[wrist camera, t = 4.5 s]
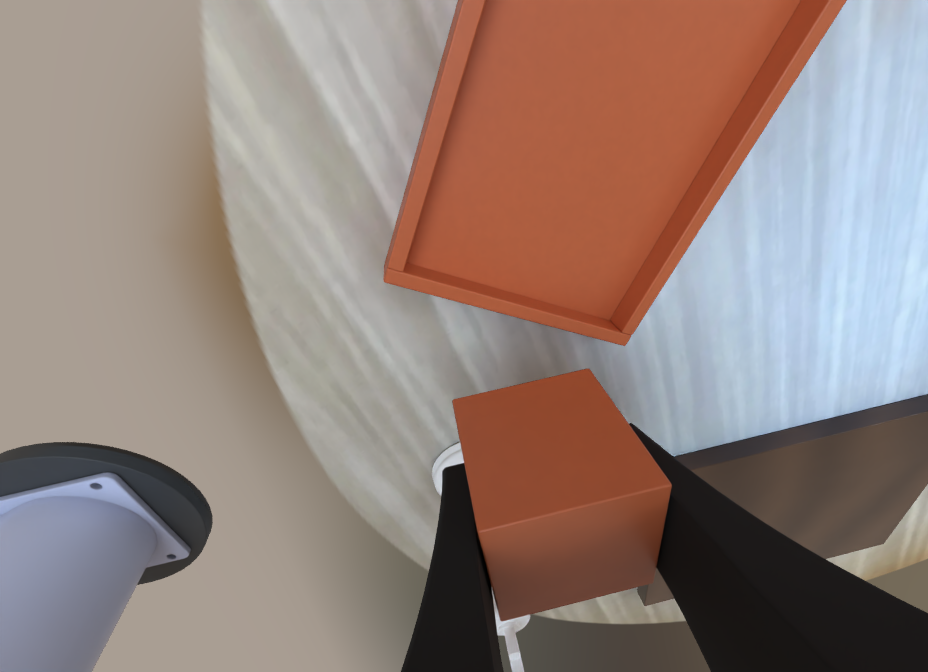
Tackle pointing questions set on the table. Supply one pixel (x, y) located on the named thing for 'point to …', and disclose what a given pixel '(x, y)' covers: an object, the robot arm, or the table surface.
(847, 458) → the walnut board
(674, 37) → the clay tray
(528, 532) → the terracotta block
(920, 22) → the table surface
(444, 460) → the chess piece
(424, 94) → the table surface
